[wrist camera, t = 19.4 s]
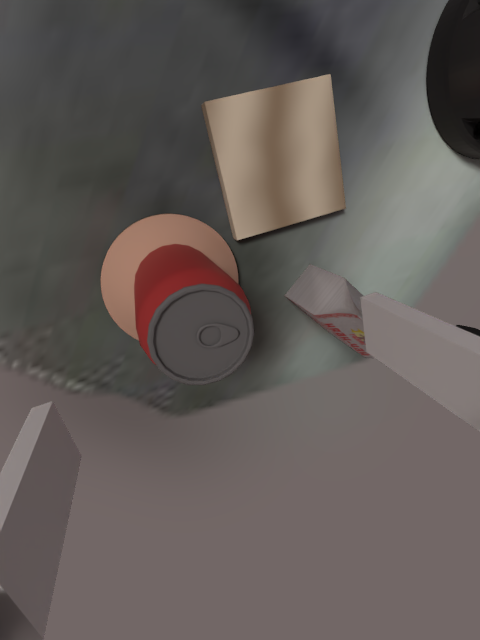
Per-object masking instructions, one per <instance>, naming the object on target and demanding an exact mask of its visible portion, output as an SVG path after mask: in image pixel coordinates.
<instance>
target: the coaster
mask: <svg viewBox="0 0 480 640" xmlns="http://www.w3.org/2000/svg"><path fill="white" fill-rule="evenodd" d="M171 244H181V245H188V246H191V247H193V248H195V249H197V250H199V251H201V252H202V253H203V254H204V255H205V256H207V257H208V258H209V259H210V260H211V261H213V262H214V263H215V264H216V265H217V266H219V267H220V268H221V269H222V270H223V271H224V272H226V273H227V274H228V275H229V276H230V277H231V278H232V279H233V280H234V281H235V282H236V283H237V284H238V270H237V265H236V262H235V258H234V256H233V254H232V252H231V249H230V248H229V246H228V245H227V243H226V242H225V241H224V239H223V238H222V237H221V236H220V235H219V234H218V233H217V232H216V231H215V230H214V229H212V228H211V227H209V226H208V225H207V224H205V223H203V222H201V221H199V220H197V219H194V218H191V217H189V216H185V215H180V214H170V213H168V214H157V215H152V216H149V217H146V218H143V219H141V220H139V221H137V222H135V223H133V224H131V225H130V226H129V227H127V228H126V229H125V230H124V231H122V232H121V233H120V234H119V235H118V237H117V238H116V239H115V240H114V241H113V243H112V245H111V246H110V248H109V250H108V252H107V254H106V257H105V259H104V263H103V267H102V272H101V291H102V296H103V300H104V303H105V306H106V308H107V310H108V312H109V314H110V315H111V317H112V318H113V320H114V321H115V322H116V323H117V324H118V326H119V327H120V328H121V329H123V330H124V331H125V332H126V333H127V334H129V335H130V336H132V337H133V338H135V339H137V340H139V338H138V334H137V330H136V320H135V299H134V282H135V274H136V272H137V269H138V267H139V265H140V263H141V262H142V260H143V259H144V258H145V257H146V256H147V255H148V254H149V253H150V252H152V251H154V250H156V249H157V248H159V247H161V246H165V245H171Z"/></svg>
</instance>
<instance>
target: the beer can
mask: <svg viewBox="0 0 480 640" xmlns="http://www.w3.org/2000/svg"><path fill="white" fill-rule="evenodd" d="M134 299H135V320H136V330H137V334H138V338H139V342H140V345H141V347H142V348H143V349H144V351H145V352H146V354H147V355H148V357H149V358H150V360H151V361H152V362H153V363H154V364H155V365H157V367H158V368H159V370H160V371H161V372H163V373H164V374H165V375H167V376H168V377H170V378H171V379H172V380H175V381H178V382H181V383H184V384H187V385H205V384H209V383H213V382H217V381H220V380H221V379H223V378H225V377H227V376H228V375H230V374H232V373H233V372H234V371H235V370H236V369H237V368H238V367H239V366H240V365H241V364H242V363H243V362H244V361H245V359H246V357H247V355H248V353H249V351H250V349H251V347H252V342H253V337H254V326H253V318H252V316H251V309H250V304H249V302H248V300H247V298H246V296H245V294H244V291H243V289H242V288H241V287H240V286H239V285H238V284H237V283H236V282H235V281H234V280H233V279H232V278H231V277H230V276H229V275H228V274H227V273H226V272H224V271H223V270H222V269H221V268H220V267H219V266H217V265H216V264H215V263H214V262H213V261H211V260H210V259H209V258H208V257H207V256H205V255H204V254H203V253H202V252H201V251H199V250H197V249H195V248H193V247H191V246H188V245H181V244H171V245H165V246H161V247H159V248H157V249H156V250H154V251H152V252H150V253H149V254H148V255H147V256H146V257H145V258H144V259H143V260H142V262H141V263H140V265H139V267H138V269H137V272H136V274H135V282H134Z"/></svg>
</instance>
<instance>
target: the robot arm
mask: <svg viewBox="0 0 480 640" xmlns="http://www.w3.org/2000/svg"><path fill="white" fill-rule="evenodd" d="M427 90H428V99H429V105H430V109H431V113H432V116H433V119H434V122H435V124H436V126H437V128H438V130H439V132H440V134H441V135H442V137H443V138H444V140H445V141H446V142H447V143H448V144H449V145H450V146H451V147H452V148H453V149H454V150H456V151H457V152H459V153H460V154H462V155H464V156H467V157H470V158H475V159H480V0H449V1H448V3H447V4H446V6H445V8H444V10H443V12H442V14H441V17H440V19H439V21H438V24H437V26H436V29H435V32H434V36H433V39H432V43H431V48H430V53H429V59H428V68H427ZM360 299H361V308H362V317H363V326H364V335H365V344H366V352H367V353H369V354H370V355H371V356H373V357H374V358H376V359H377V360H379V361H380V362H381V363H383V364H384V365H386V366H387V367H389V368H390V369H391V370H393V371H394V372H396V373H397V374H398V375H400V376H401V377H403V378H404V379H405V380H407V381H408V382H410V383H411V384H413V385H414V386H415V387H417V388H418V389H420V390H421V391H422V392H424V393H425V394H427V395H428V396H430V397H431V398H432V399H434V400H435V401H437V402H438V403H439V404H441V405H442V406H444V407H445V408H447V409H448V410H449V411H451V412H452V413H454V414H455V415H456V416H458V417H459V418H461V419H462V420H464V421H465V422H467V423H468V424H469V425H471V426H472V427H474V428H475V429H476V430H478V431H479V432H480V330H478V329H476V328H471V327H467V326H461V325H456V326H453V325H451V324H449V323H447V322H444V321H442V320H440V319H437V318H435V317H433V316H430V315H428V314H426V313H423V312H421V311H419V310H416V309H414V308H412V307H409V306H407V305H405V304H402V303H400V302H398V301H395V300H393V299H391V298H388V297H386V296H384V295H381V294H379V293H377V292H375V293H372V294H369V295H366V296H363V297H360ZM80 461H81V454H80V452H79V450H78V448H77V446H76V444H75V442H74V441H73V439H72V437H71V435H70V433H69V431H68V429H67V428H66V426H65V424H64V422H63V420H62V418H61V416H60V414H59V413H58V410H57V409H56V407H55V405H54V403H53V402H52V401H51V402H48V403H46V404H42V405H40V406H37V407H34V408H32V409H31V411H30V413H29V415H28V417H27V419H26V421H25V423H24V425H23V427H22V430H21V431H20V433H19V436H18V438H17V440H16V442H15V444H14V446H13V448H12V450H11V452H10V454H9V456H8V458H7V460H6V463H5V465H4V467H3V469H2V471H1V473H0V640H43V639H44V633H45V629H46V625H47V619H48V615H49V610H50V605H51V600H52V595H53V591H54V586H55V581H56V576H57V572H58V566H59V562H60V557H61V552H62V547H63V543H64V538H65V533H66V528H67V523H68V519H69V513H70V509H71V504H72V499H73V495H74V490H75V485H76V480H77V475H78V470H79V466H80Z"/></svg>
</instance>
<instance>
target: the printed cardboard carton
mask: <svg viewBox="0 0 480 640" xmlns="http://www.w3.org/2000/svg"><path fill="white" fill-rule="evenodd" d="M285 296H286V297H287V298H288V299H289V300H291V301H292V302H293V303H294V304H295V305H297V306H298V307H299V308H300V309H302V310H303V311H304V312H305V313H306V314H308V315H309V316H310V317H311V318H312V319H314V320H315V321H316V322H317V323H319V324H320V325H321V326H322V327H323V328H325V329H326V330H327V331H328V332H330V333H331V334H332V335H334V336H335V337H336V338H338V339H339V340H341V341H342V342H344V343H345V344H346V345H348V346H349V347H351V348H352V349H354V350H355V351H356V352H358V353H359V354H361V355H362V356H363V357H365V358H374V357H373V356H371V355H370V354H369V353H367V352H366V344H365V335H364V326H363V317H362V308H361V299H360V297H363V295H362V294H361V293H360V292H359V291H358V290H357V289H356V288H354V287H353V286H352V285H351V284H350V283H349V282H348V281H347V280H346V279H345V278H343V277H341V276H338V275H336V274H333V273H331V272H328V271H326V270H323V269H321V268H318V267H316V266H313V265H311V264H309V266H308V267H307V268H306V269H305V271H304V272H303V273H302V274H301V276H300V277H299V278H298V279H297V281H296V282H295V283H294V284H293V286H292V287H291V288H290V289H289V291H288V292H287V293H286V294H285Z"/></svg>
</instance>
